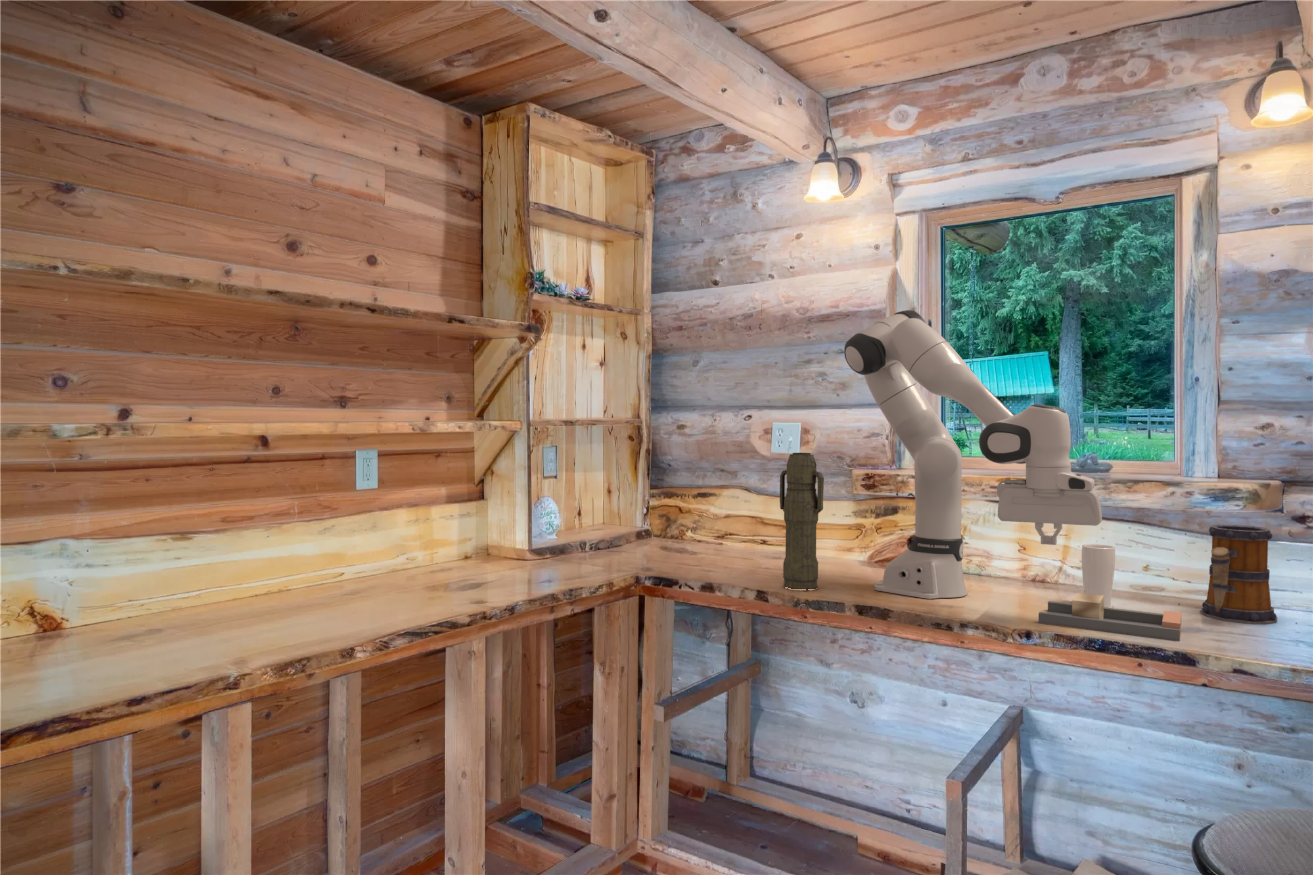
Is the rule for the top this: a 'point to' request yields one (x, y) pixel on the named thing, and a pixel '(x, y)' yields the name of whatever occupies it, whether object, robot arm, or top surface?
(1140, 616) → the guide channel
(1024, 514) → the robot arm
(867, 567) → the top surface
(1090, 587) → the white tumbler
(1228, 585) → the mug
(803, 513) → the thermos
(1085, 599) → the block
